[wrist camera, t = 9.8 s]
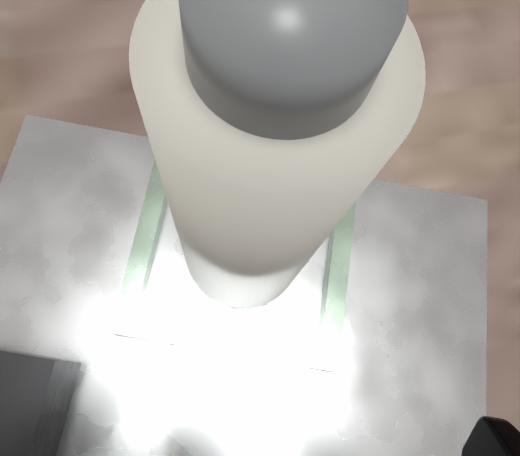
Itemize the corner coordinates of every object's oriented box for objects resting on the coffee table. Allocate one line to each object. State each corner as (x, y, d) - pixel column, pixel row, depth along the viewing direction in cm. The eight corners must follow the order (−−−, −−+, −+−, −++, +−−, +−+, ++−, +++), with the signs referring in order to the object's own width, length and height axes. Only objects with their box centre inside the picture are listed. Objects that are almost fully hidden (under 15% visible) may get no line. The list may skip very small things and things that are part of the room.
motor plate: (452, 586, 19) (540, 667, 14) (-81, 500, 18) (-201, 550, 13) (461, 217, 24) (527, 173, 19) (45, 140, 24) (-4, 74, 18)
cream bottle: (315, 288, 20) (533, 95, 6) (203, 323, 19) (159, 191, 5) (279, 185, 21) (389, -167, 7) (172, 213, 20) (73, -123, 7)
